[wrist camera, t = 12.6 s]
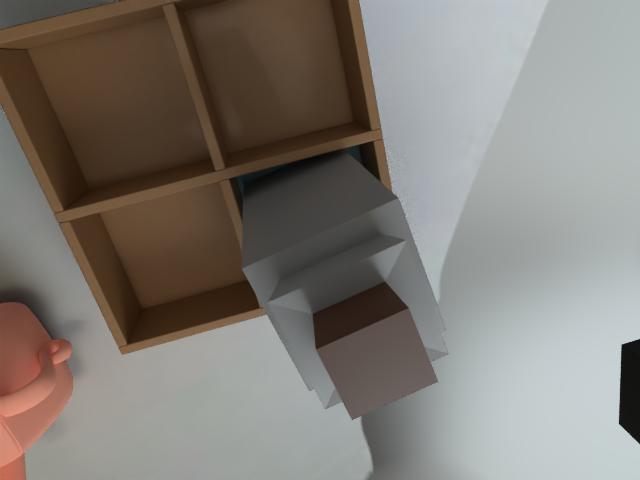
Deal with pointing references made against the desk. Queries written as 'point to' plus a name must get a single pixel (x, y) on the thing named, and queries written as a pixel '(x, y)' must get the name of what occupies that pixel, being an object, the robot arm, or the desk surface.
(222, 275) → the bottle tray
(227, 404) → the desk surface
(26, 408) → the teapot
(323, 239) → the perfume bottle
